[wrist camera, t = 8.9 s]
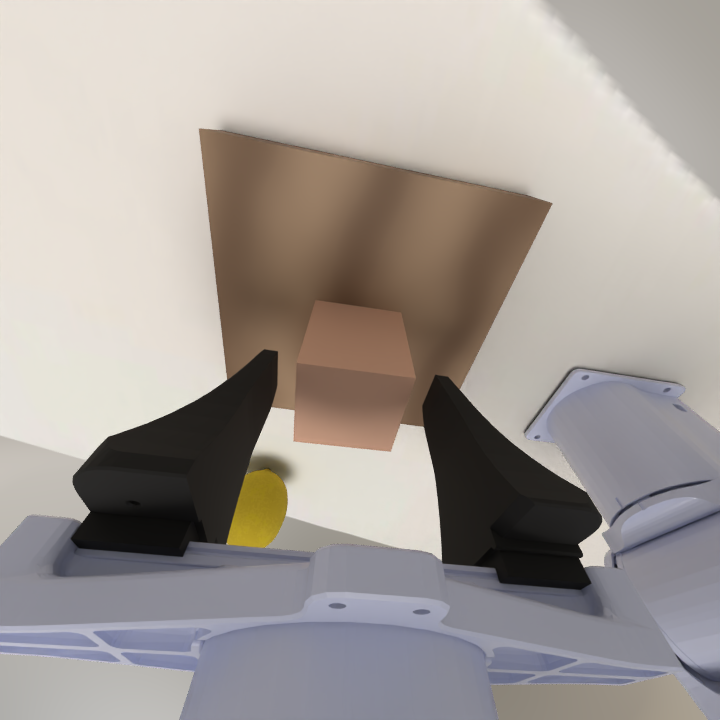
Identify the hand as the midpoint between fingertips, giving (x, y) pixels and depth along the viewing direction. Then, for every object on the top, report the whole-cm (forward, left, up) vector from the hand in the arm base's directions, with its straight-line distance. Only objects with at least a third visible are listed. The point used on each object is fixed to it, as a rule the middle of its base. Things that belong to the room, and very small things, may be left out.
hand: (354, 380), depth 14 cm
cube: (0, +1, -5) cm, 5 cm away
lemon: (+6, +20, -8) cm, 22 cm away
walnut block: (0, 0, -8) cm, 8 cm away
